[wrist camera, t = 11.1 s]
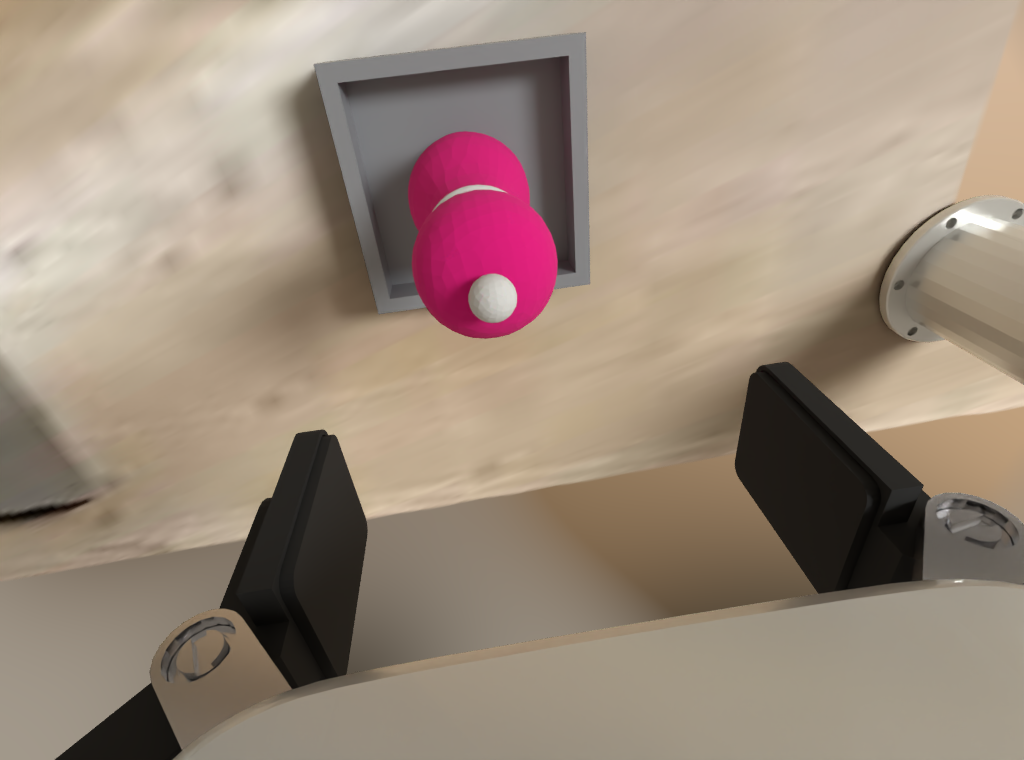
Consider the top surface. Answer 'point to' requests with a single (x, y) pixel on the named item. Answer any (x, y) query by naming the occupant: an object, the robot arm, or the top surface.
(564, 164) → the tray
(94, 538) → the top surface
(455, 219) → the pepper mill
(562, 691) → the robot arm
